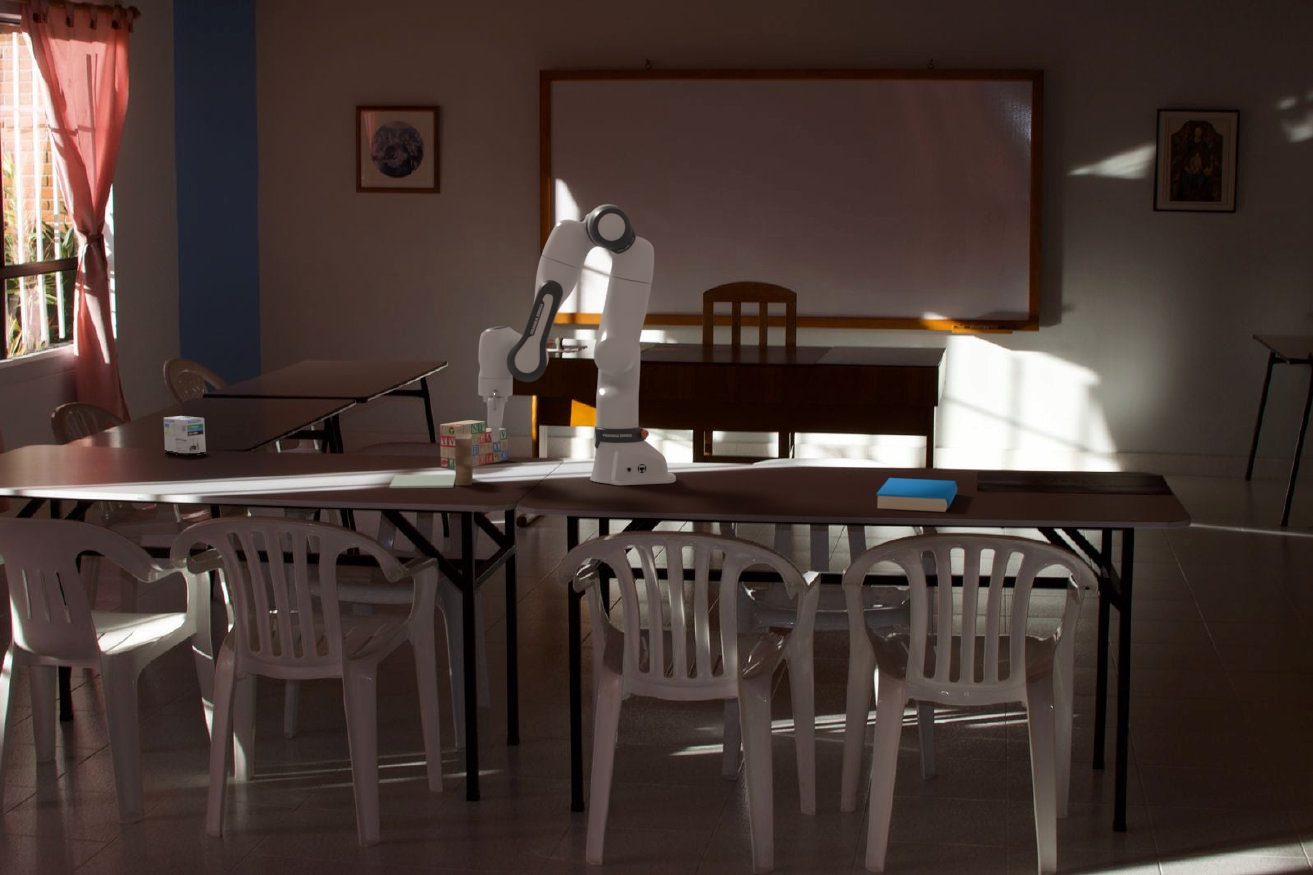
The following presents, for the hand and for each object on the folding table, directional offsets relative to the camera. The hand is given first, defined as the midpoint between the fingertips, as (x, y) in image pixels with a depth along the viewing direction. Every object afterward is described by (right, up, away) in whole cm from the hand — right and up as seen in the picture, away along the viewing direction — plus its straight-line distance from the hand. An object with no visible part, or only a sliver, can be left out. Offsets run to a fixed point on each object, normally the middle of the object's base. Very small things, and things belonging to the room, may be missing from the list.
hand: (495, 441), depth 381 cm
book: (+105, -15, -26) cm, 110 cm away
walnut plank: (-8, -11, +1) cm, 13 cm away
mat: (-19, -11, 0) cm, 21 cm away
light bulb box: (-97, -4, +51) cm, 110 cm away
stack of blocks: (-9, -7, +33) cm, 35 cm away
